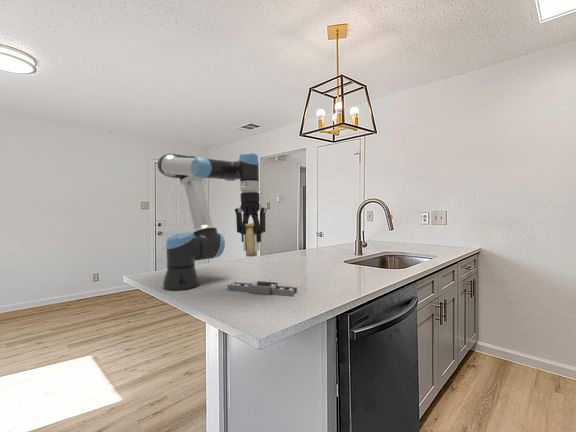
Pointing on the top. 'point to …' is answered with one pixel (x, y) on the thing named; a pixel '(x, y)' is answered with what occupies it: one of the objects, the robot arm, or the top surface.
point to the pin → (250, 239)
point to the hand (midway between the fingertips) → (251, 250)
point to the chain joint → (263, 288)
